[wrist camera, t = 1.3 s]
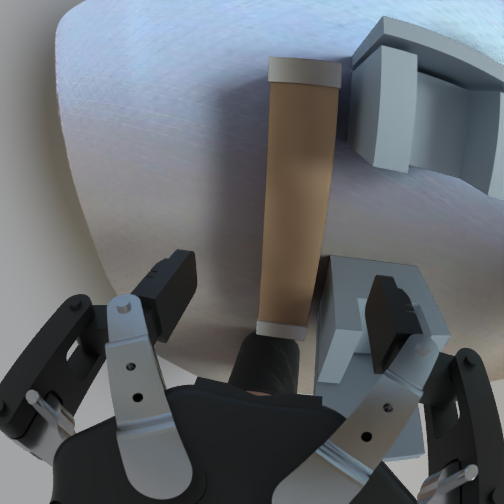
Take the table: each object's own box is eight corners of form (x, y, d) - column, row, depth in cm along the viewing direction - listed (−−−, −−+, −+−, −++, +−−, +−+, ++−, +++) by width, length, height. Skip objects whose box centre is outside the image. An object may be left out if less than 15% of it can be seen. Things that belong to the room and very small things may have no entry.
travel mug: (295, 325, 29) (264, 509, 12) (306, 366, 32) (285, 517, 15) (231, 330, 31) (171, 490, 14) (250, 369, 35) (210, 506, 17)
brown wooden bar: (333, 76, 17) (342, 63, 12) (306, 300, 27) (304, 340, 22) (279, 71, 18) (269, 56, 13) (266, 294, 28) (255, 334, 23)
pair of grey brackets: (451, 84, 14) (598, 89, 1) (394, 323, 26) (418, 457, 13) (351, 56, 16) (431, -42, 2) (317, 316, 28) (306, 462, 14)
